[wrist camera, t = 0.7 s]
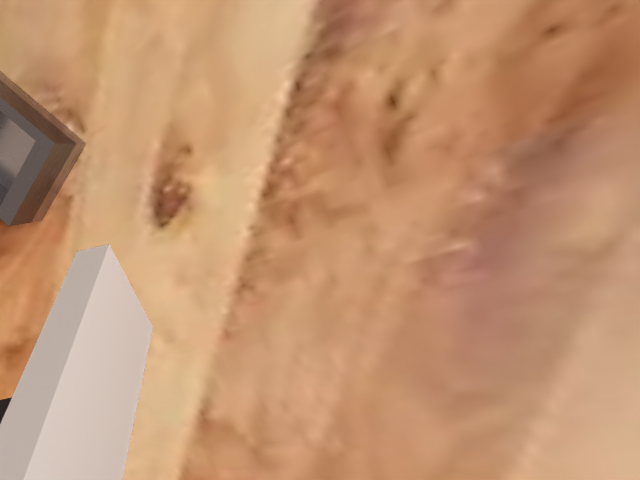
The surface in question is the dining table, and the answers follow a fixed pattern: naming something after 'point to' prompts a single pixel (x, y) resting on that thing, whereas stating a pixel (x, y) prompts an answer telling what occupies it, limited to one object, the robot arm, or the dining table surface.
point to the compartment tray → (31, 156)
